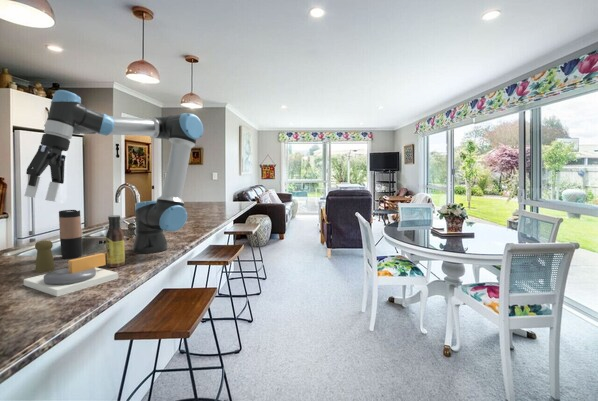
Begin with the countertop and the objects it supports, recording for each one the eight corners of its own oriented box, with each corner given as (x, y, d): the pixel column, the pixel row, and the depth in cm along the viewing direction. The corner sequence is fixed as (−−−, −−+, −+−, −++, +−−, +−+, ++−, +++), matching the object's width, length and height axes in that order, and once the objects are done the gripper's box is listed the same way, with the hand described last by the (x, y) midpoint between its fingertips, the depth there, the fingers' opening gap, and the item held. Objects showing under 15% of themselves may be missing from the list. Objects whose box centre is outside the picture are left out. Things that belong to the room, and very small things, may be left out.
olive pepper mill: (44, 272, 119) (42, 243, 118) (30, 271, 120) (28, 242, 119) (59, 267, 125) (57, 239, 124) (46, 266, 126) (44, 238, 125)
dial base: (85, 269, 123) (84, 264, 122) (118, 278, 113) (118, 272, 113) (23, 285, 106) (23, 278, 106) (57, 296, 97) (56, 289, 96)
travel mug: (59, 259, 136) (56, 212, 134) (63, 255, 143) (61, 210, 141) (80, 258, 139) (78, 211, 137) (84, 253, 146) (82, 209, 144)
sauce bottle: (108, 264, 130) (106, 214, 128) (126, 262, 132) (124, 214, 131) (105, 268, 124) (103, 217, 122) (124, 267, 126) (122, 216, 125)
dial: (58, 287, 98) (57, 269, 97) (34, 279, 104) (33, 263, 104) (116, 271, 114) (115, 255, 113) (92, 265, 120) (91, 251, 120)
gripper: (60, 143, 120) (45, 200, 117) (24, 122, 96) (4, 192, 93) (83, 148, 122) (69, 204, 119) (53, 128, 98) (35, 197, 95)
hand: (40, 199), depth 106 cm, fingers open, 13 cm apart
